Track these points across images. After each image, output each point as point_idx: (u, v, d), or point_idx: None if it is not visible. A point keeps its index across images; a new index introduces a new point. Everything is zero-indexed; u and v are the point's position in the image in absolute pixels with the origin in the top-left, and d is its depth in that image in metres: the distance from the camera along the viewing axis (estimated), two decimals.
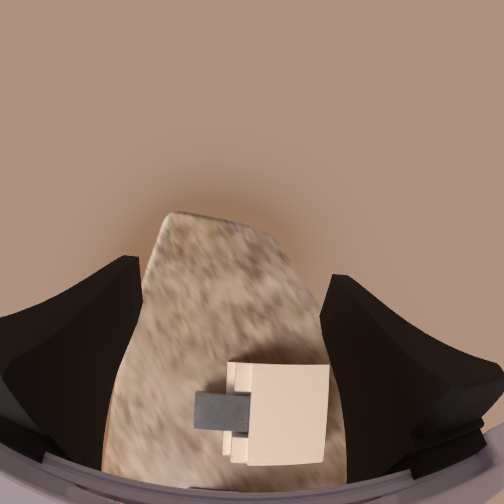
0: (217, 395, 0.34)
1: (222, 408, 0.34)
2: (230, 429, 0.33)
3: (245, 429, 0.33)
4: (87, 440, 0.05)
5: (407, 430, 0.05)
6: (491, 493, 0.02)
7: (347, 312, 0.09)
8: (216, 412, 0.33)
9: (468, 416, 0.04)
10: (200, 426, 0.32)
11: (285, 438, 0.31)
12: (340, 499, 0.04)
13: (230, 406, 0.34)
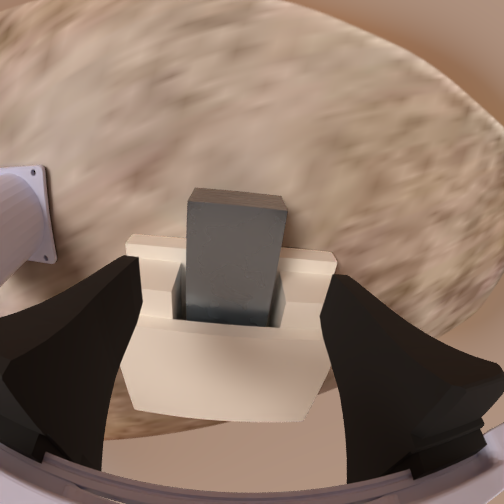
0: (276, 259, 0.16)
1: (244, 269, 0.16)
2: (189, 281, 0.16)
3: (192, 308, 0.17)
4: (87, 440, 0.05)
5: (407, 430, 0.05)
6: (491, 493, 0.02)
7: (346, 312, 0.09)
8: (231, 256, 0.16)
9: (468, 416, 0.04)
10: (193, 217, 0.15)
11: (177, 379, 0.18)
12: (341, 499, 0.04)
13: (248, 284, 0.17)
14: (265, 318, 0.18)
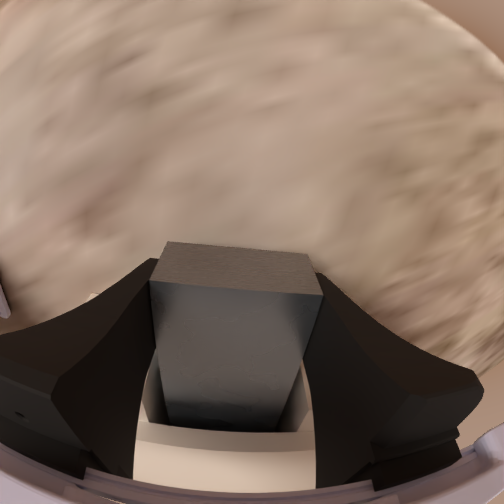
0: (298, 359, 0.10)
1: (248, 371, 0.10)
2: (167, 382, 0.10)
3: (174, 407, 0.11)
4: (122, 450, 0.05)
5: (367, 438, 0.05)
6: (491, 493, 0.02)
7: None
8: (228, 357, 0.09)
9: (438, 426, 0.04)
10: (161, 305, 0.08)
11: (163, 473, 0.12)
12: (340, 499, 0.04)
13: (254, 388, 0.10)
14: (277, 418, 0.12)
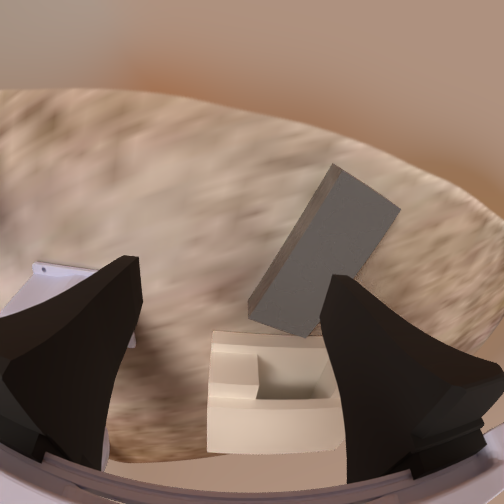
0: (376, 243, 0.18)
1: (352, 242, 0.18)
2: (305, 237, 0.18)
3: (291, 262, 0.19)
4: (87, 440, 0.05)
5: (407, 430, 0.05)
6: (491, 493, 0.02)
7: (347, 312, 0.09)
8: (349, 228, 0.18)
9: (468, 416, 0.04)
10: (339, 185, 0.16)
11: (251, 433, 0.23)
12: (341, 499, 0.04)
13: (347, 256, 0.19)
14: None
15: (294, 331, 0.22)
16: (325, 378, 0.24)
